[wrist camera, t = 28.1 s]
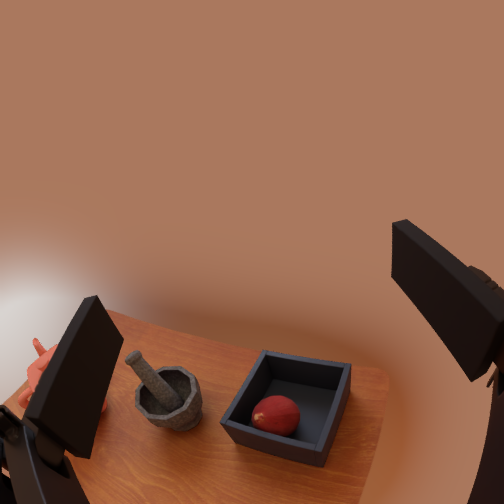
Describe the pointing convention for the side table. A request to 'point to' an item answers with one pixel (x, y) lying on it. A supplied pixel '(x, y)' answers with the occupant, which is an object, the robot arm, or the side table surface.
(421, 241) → the robot arm
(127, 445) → the side table surface
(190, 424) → the mortar and pestle
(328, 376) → the dark blue open box
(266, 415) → the onion
